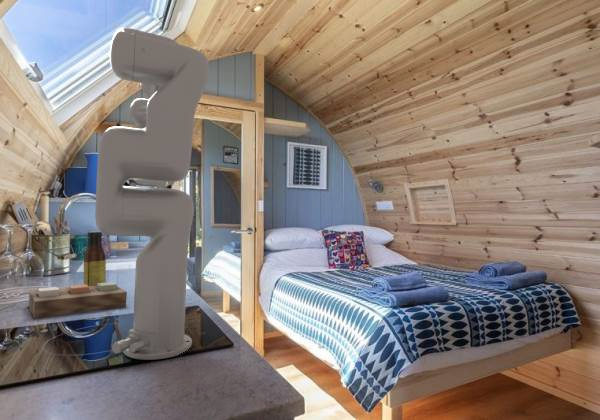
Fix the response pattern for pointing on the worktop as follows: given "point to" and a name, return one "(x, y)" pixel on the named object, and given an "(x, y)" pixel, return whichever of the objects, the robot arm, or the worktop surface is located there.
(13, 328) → the worktop surface
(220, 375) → the worktop surface
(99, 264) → the sauce bottle
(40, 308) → the button panel
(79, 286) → the terracotta button
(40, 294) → the cream button
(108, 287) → the sage button
